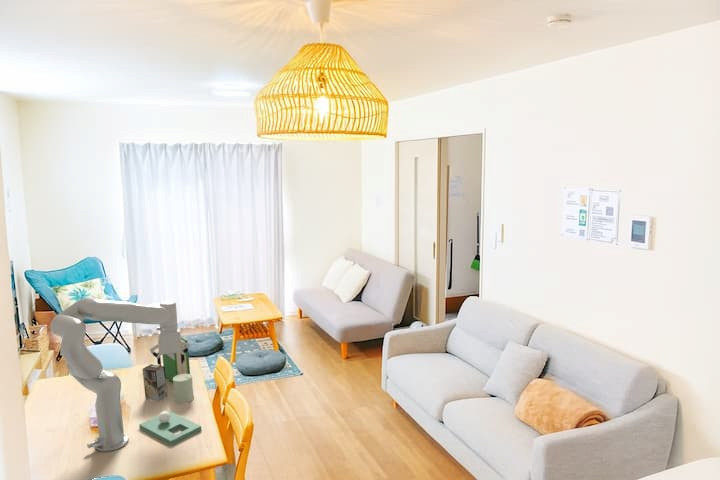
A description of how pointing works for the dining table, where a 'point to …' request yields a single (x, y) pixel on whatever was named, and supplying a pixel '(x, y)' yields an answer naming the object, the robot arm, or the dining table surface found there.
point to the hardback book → (176, 364)
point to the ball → (164, 417)
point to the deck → (170, 428)
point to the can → (183, 388)
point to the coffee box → (155, 382)
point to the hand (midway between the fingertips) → (171, 364)
